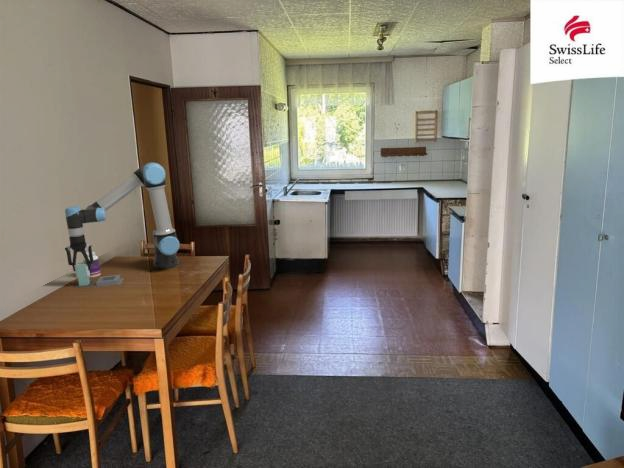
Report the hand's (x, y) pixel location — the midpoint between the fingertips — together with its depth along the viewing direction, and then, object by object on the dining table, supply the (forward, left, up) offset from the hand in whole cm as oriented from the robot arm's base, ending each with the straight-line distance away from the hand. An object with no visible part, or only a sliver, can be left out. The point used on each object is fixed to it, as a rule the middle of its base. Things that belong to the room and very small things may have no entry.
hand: (83, 275), depth 259 cm
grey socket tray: (-13, +2, -6) cm, 14 cm away
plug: (0, 0, -5) cm, 5 cm away
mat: (0, 0, -6) cm, 6 cm away
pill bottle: (-1, -17, -6) cm, 18 cm away
